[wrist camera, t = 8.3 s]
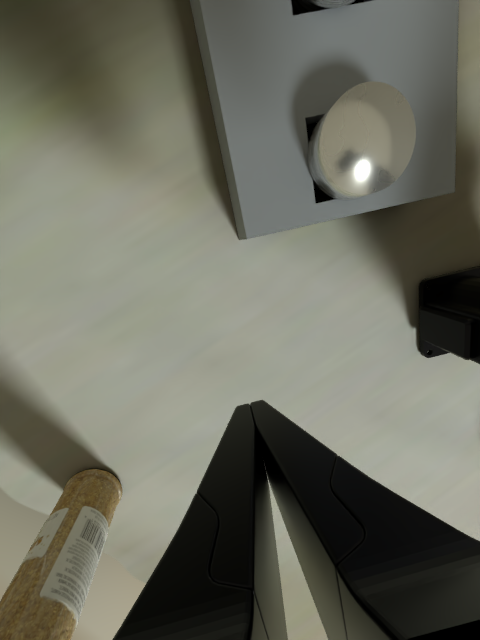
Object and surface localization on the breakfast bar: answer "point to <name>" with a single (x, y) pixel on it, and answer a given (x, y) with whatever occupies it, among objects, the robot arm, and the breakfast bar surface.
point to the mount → (323, 97)
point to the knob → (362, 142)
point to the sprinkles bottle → (61, 561)
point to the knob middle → (316, 5)
